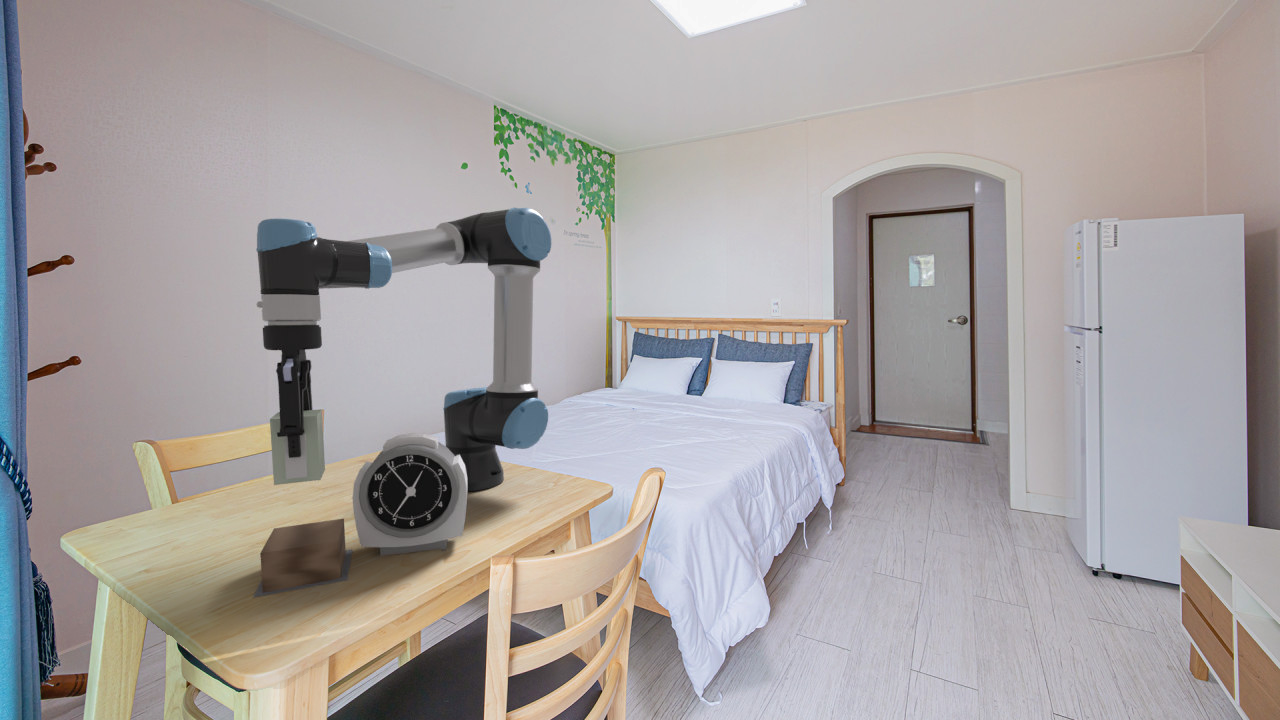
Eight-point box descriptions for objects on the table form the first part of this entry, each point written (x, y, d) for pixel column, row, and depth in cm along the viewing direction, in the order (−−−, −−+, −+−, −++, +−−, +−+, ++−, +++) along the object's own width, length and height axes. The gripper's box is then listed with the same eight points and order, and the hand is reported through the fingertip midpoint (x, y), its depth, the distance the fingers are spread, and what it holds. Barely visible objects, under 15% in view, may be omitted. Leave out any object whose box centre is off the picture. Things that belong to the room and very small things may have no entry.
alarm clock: (353, 565, 88) (347, 444, 86) (364, 543, 96) (359, 433, 94) (468, 551, 93) (464, 436, 91) (469, 532, 101) (466, 426, 99)
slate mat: (352, 551, 93) (352, 548, 93) (347, 582, 82) (347, 579, 82) (270, 564, 88) (270, 562, 88) (253, 600, 77) (252, 597, 77)
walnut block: (345, 552, 92) (343, 518, 91) (340, 578, 83) (338, 540, 82) (276, 563, 87) (274, 528, 87) (262, 592, 78) (260, 553, 78)
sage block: (325, 469, 88) (321, 409, 87) (320, 479, 82) (316, 415, 81) (281, 474, 85) (277, 412, 84) (273, 485, 80) (269, 419, 79)
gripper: (275, 322, 89) (283, 459, 91) (246, 324, 71) (257, 493, 73) (327, 322, 92) (334, 454, 94) (312, 324, 75) (320, 485, 77)
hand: (300, 471), depth 84 cm, fingers closed on sage block, 6 cm apart
